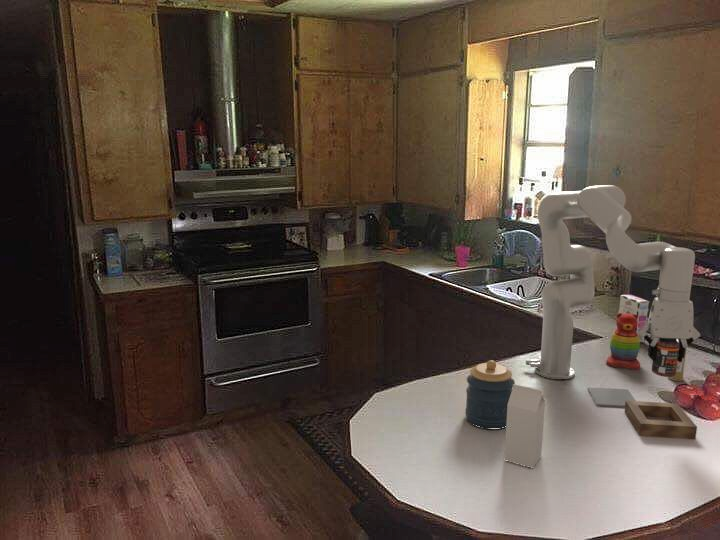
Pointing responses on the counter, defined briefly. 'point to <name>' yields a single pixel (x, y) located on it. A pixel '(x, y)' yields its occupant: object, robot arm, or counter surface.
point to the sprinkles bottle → (679, 369)
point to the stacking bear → (625, 343)
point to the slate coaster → (610, 396)
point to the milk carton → (524, 425)
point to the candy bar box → (635, 310)
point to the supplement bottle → (666, 357)
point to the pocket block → (673, 429)
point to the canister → (488, 395)
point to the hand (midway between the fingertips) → (665, 358)
